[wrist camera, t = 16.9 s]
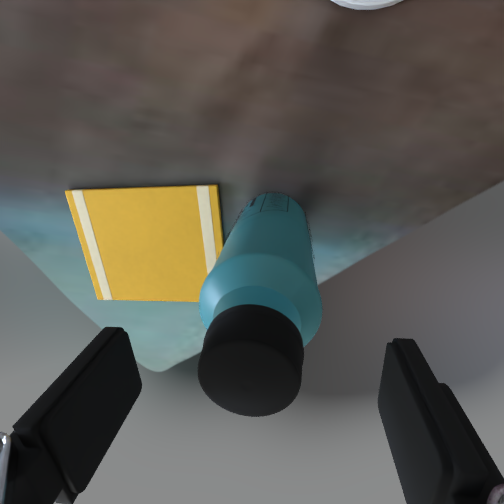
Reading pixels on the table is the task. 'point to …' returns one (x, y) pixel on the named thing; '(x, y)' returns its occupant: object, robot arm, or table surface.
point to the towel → (148, 240)
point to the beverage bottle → (259, 309)
